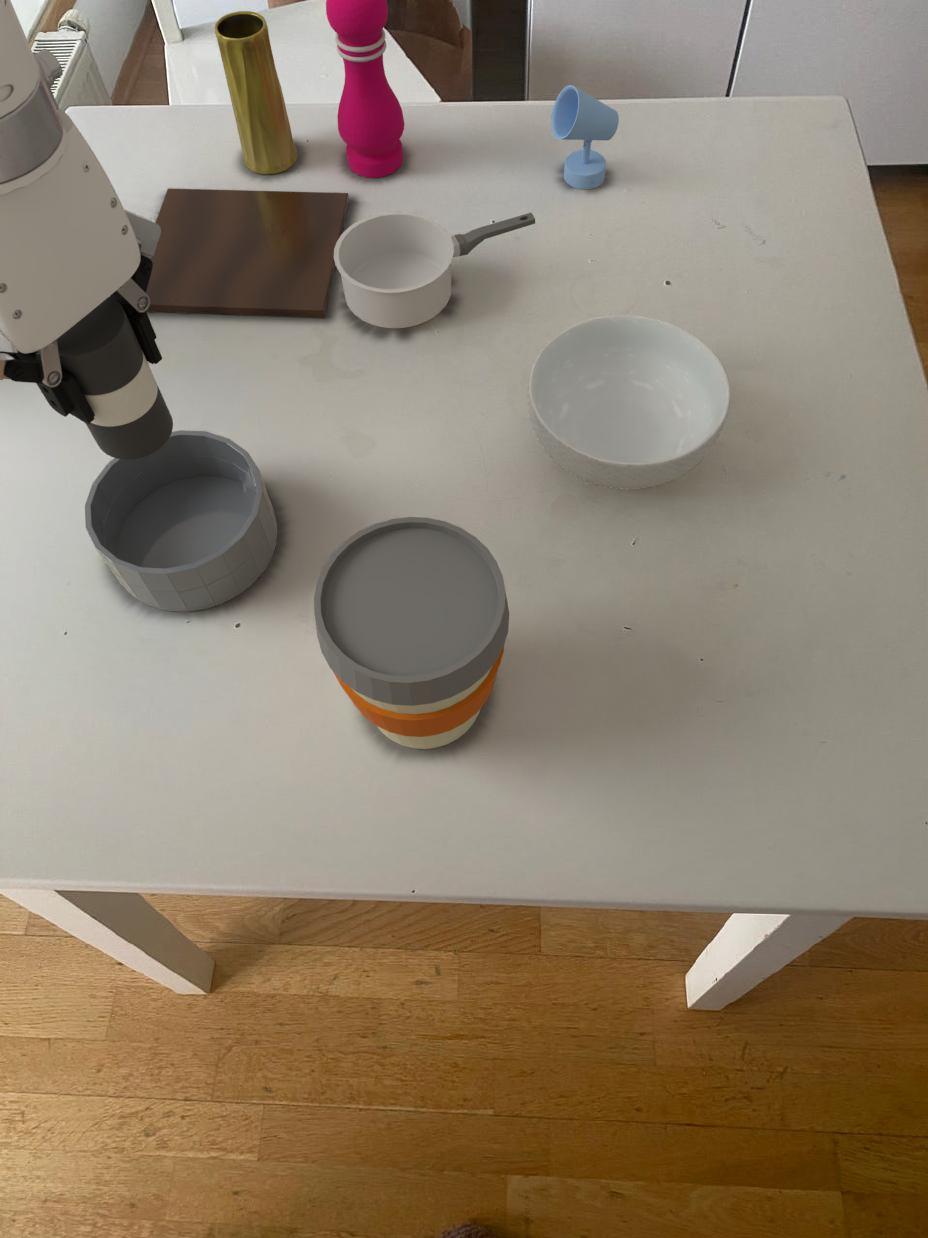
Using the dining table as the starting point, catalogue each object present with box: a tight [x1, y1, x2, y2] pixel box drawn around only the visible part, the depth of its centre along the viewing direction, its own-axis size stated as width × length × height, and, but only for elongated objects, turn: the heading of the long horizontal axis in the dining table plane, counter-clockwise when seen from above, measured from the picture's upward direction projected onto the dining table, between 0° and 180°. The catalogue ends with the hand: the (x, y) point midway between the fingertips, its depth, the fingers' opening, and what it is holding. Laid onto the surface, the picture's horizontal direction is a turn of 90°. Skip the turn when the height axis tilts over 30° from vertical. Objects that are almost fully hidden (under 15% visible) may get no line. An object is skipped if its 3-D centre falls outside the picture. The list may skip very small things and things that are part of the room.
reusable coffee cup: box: [313, 516, 510, 750], centre depth 62 cm, size 13×13×15 cm
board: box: [146, 187, 350, 319], centre depth 93 cm, size 20×18×1 cm
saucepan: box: [334, 210, 536, 329], centre depth 88 cm, size 12×20×6 cm, turn 109°
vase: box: [214, 10, 298, 175], centre depth 95 cm, size 6×6×14 cm
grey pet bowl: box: [84, 429, 278, 613], centre depth 74 cm, size 14×14×6 cm
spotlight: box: [550, 84, 620, 190], centre depth 94 cm, size 5×10×7 cm
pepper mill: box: [325, 0, 405, 179], centre depth 92 cm, size 7×7×20 cm
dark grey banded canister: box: [57, 296, 174, 460], centre depth 60 cm, size 6×6×10 cm
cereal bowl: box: [527, 314, 731, 490], centre depth 77 cm, size 17×17×7 cm
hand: (109, 380), depth 60 cm, fingers closed on dark grey banded canister, 5 cm apart
